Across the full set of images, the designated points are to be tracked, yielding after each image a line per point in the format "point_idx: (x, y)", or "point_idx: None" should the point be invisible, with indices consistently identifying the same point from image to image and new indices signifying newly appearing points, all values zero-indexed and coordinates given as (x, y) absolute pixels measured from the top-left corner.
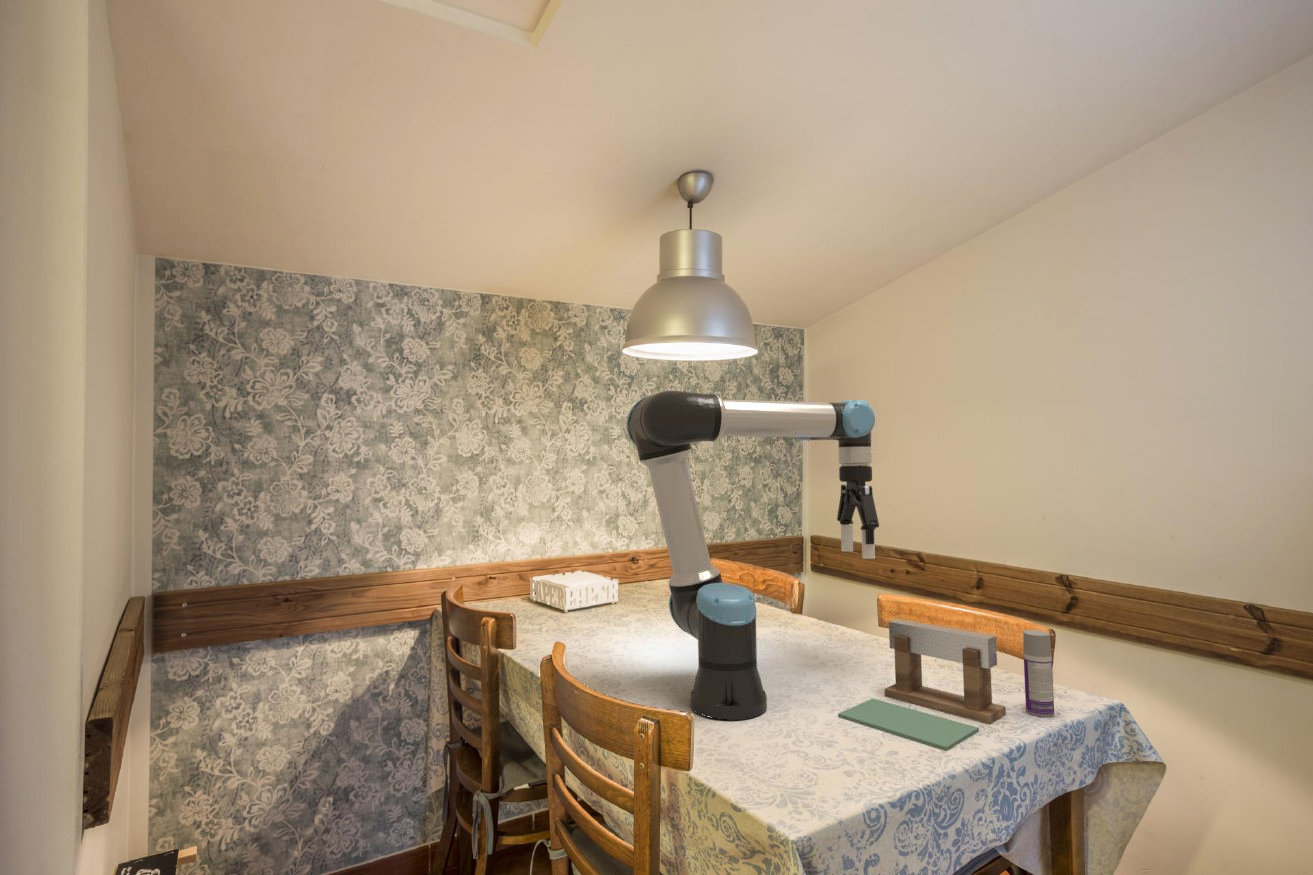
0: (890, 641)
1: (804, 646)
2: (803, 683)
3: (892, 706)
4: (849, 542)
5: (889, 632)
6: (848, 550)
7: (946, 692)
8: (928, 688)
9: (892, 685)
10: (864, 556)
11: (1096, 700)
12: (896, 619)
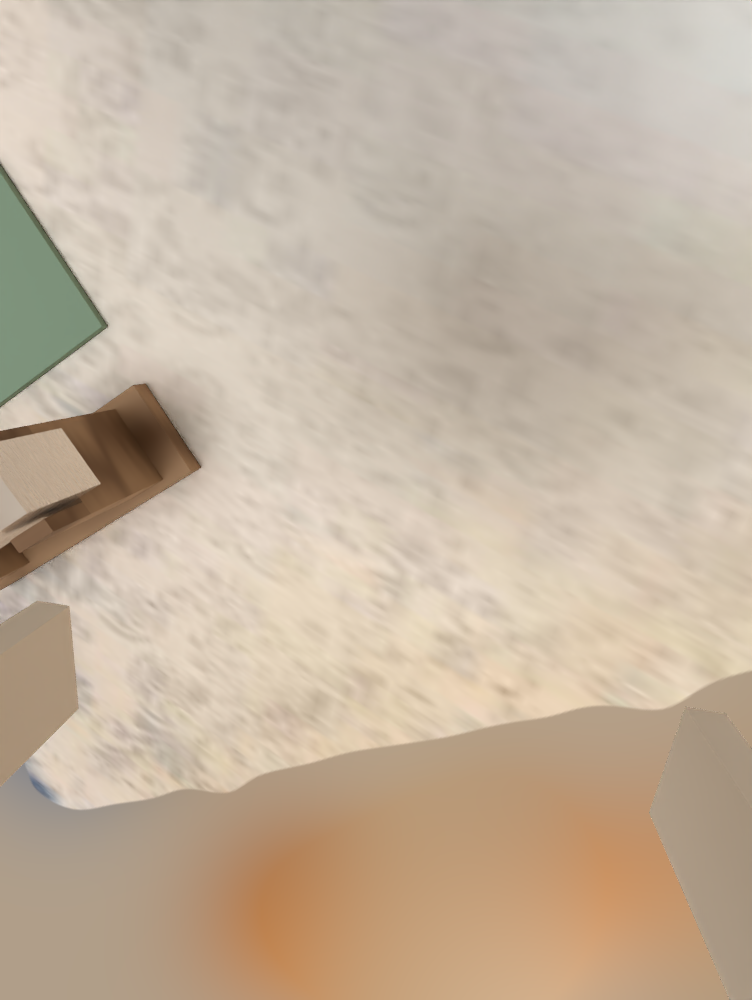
0: (40, 433)
1: (744, 371)
2: (292, 170)
3: (38, 348)
4: (710, 882)
5: (14, 438)
6: (668, 775)
7: (89, 528)
8: (122, 503)
9: (156, 422)
10: (22, 622)
11: (79, 797)
12: (17, 501)
